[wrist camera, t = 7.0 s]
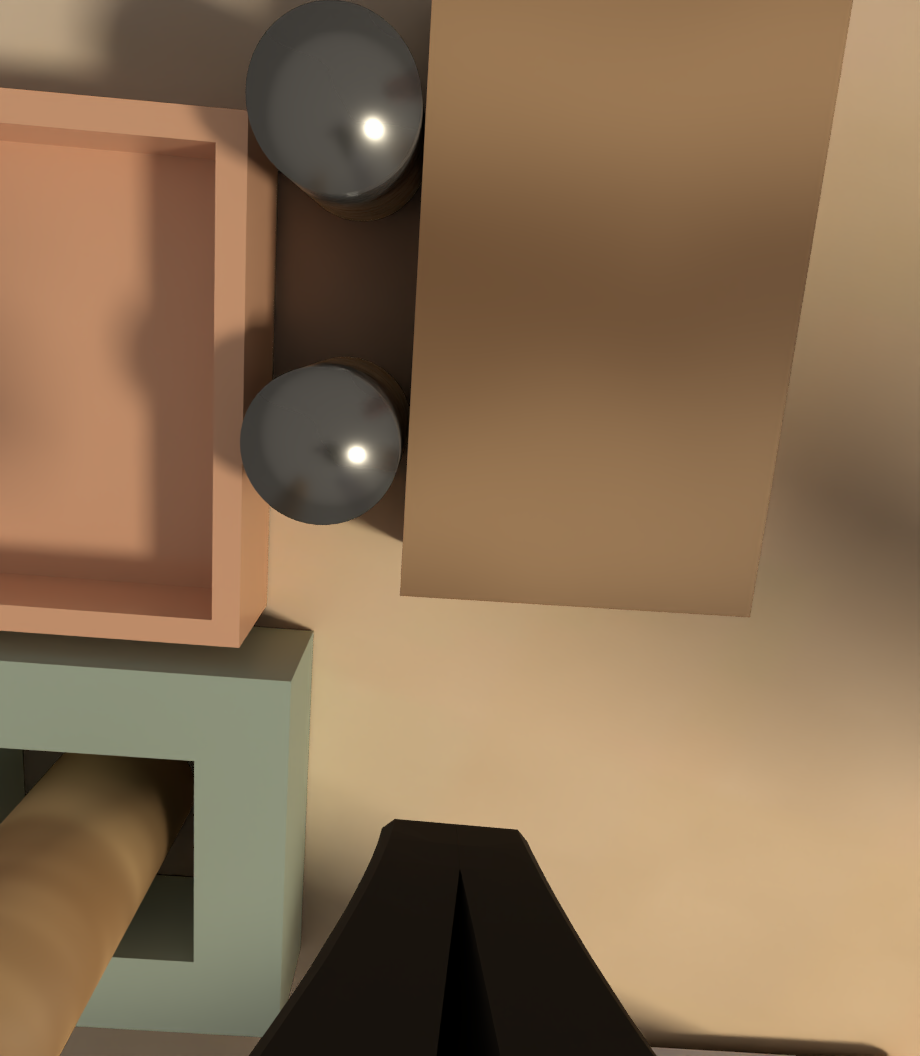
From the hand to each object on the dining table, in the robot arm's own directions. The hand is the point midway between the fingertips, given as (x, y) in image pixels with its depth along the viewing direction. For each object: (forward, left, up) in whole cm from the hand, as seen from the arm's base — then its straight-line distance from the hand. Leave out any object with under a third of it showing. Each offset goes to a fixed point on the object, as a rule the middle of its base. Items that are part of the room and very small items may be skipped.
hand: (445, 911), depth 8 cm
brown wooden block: (+6, -2, -10) cm, 12 cm away
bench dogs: (+6, +2, -9) cm, 11 cm away
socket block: (-5, +7, -9) cm, 13 cm away
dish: (+4, +8, -9) cm, 13 cm away
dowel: (-5, +7, -9) cm, 13 cm away
